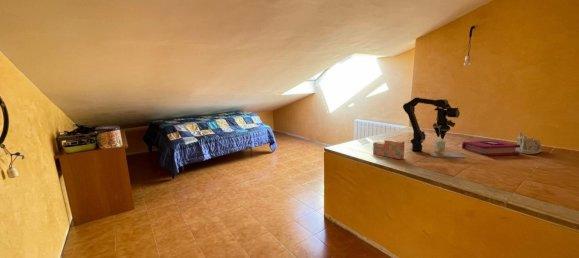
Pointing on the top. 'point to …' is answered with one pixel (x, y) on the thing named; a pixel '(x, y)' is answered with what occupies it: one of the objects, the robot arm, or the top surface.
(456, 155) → the blueprint board
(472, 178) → the top surface
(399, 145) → the stack of blocks
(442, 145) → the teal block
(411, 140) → the robot arm
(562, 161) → the top surface
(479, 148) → the book
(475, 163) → the top surface
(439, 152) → the maple block
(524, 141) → the ceramic cottage
